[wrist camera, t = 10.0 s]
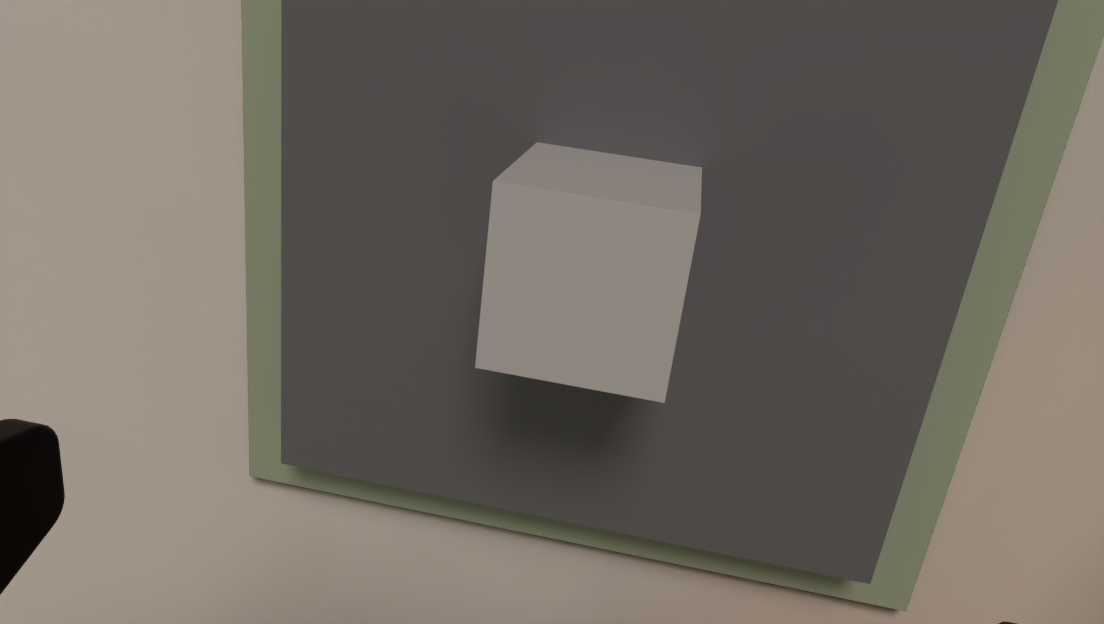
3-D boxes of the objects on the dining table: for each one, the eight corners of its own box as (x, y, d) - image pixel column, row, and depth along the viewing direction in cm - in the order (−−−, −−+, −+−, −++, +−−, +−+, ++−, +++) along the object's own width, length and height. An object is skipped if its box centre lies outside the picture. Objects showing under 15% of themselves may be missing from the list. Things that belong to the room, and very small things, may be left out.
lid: (1065, -101, 16) (1221, -140, 11) (861, 553, 21) (906, 715, 17) (308, -185, 18) (158, -252, 13) (301, 441, 23) (195, 558, 18)
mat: (1168, -182, 15) (1180, -187, 15) (902, 600, 22) (905, 611, 22) (246, -273, 18) (236, -279, 17) (256, 468, 24) (249, 476, 24)
